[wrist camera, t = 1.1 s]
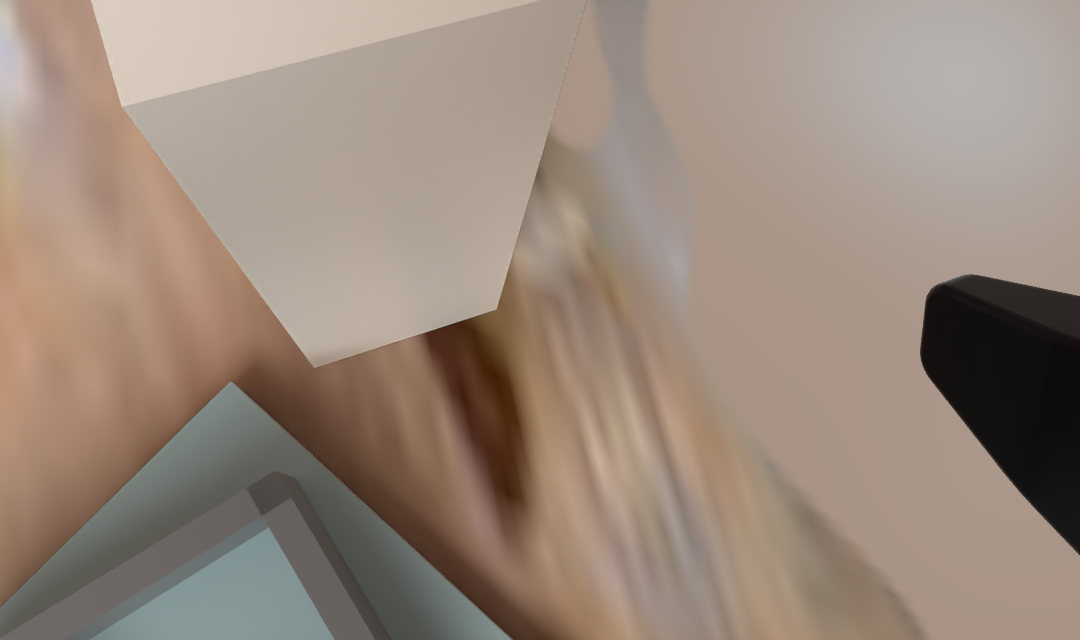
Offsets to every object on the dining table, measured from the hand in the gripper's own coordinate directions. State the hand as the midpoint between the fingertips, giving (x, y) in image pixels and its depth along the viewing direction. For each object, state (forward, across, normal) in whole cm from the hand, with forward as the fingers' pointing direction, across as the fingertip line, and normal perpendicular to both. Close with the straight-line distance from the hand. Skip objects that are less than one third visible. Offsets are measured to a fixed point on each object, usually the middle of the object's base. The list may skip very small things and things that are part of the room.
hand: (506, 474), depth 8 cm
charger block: (+13, 0, +4) cm, 14 cm away
